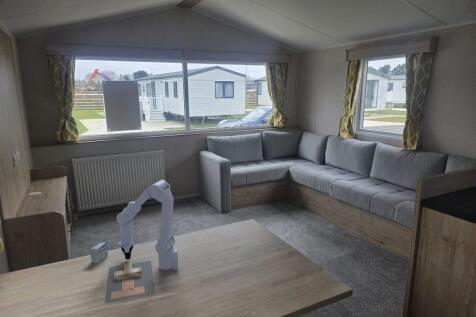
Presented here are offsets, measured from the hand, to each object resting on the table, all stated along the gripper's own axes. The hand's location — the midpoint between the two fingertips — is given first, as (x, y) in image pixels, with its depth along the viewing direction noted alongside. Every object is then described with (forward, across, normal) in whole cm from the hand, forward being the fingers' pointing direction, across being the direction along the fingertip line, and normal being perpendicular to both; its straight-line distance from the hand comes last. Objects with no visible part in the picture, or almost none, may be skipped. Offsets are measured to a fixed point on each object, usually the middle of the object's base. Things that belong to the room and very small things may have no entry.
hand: (128, 258), depth 159 cm
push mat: (+2, +18, +1) cm, 18 cm away
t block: (+1, +12, 0) cm, 12 cm away
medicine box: (+2, -6, -14) cm, 16 cm away
